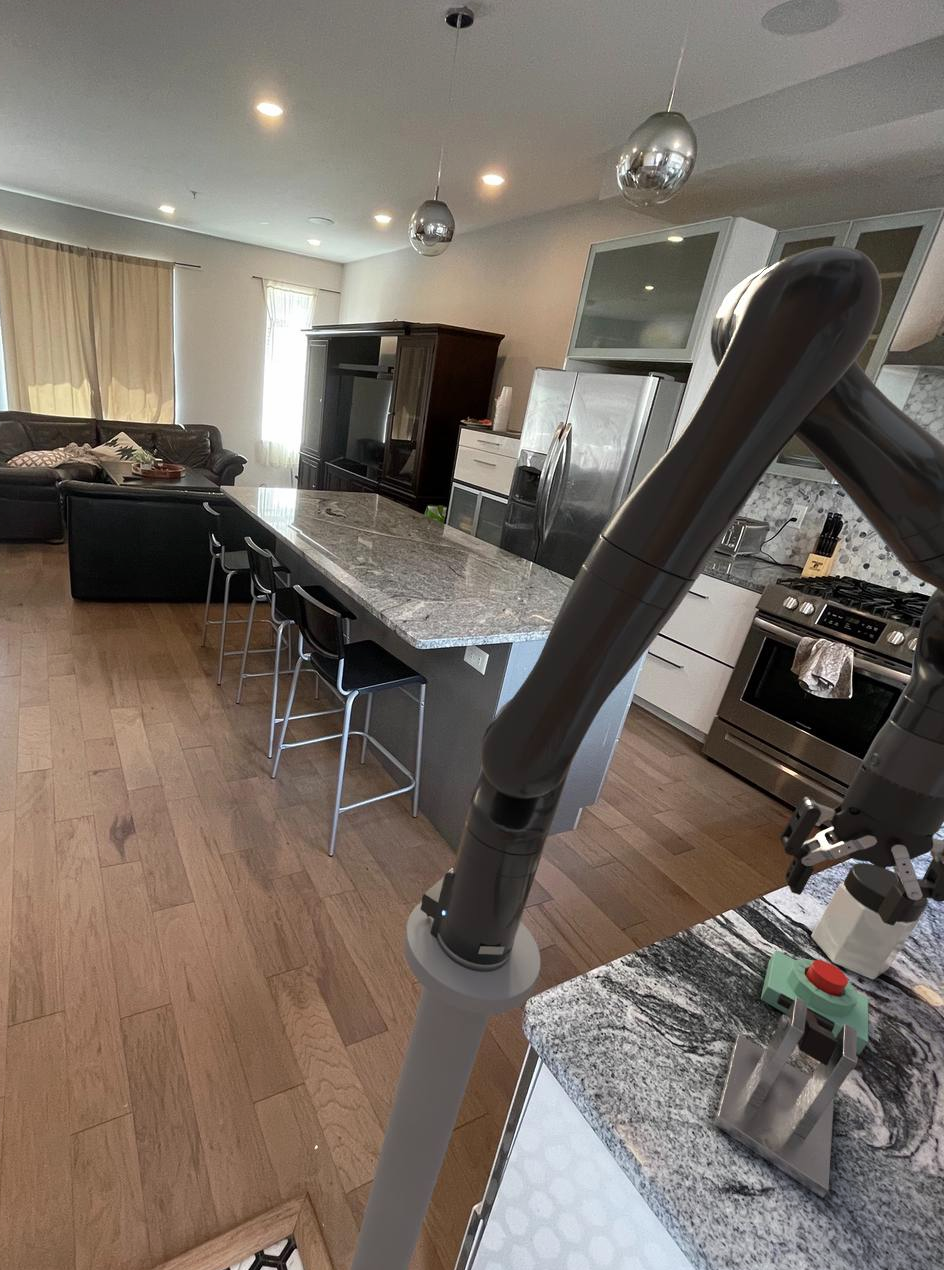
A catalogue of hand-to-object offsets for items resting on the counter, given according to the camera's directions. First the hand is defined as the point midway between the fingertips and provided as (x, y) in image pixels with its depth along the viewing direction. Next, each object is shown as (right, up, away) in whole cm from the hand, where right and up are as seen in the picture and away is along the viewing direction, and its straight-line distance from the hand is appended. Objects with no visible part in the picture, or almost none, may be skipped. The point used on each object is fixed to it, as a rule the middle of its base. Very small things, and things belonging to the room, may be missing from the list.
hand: (838, 903), depth 66 cm
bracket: (-10, -19, -4) cm, 22 cm away
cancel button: (+4, -12, +8) cm, 15 cm away
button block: (+4, -16, +9) cm, 19 cm away
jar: (+15, -14, +19) cm, 28 cm away
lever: (-6, -12, -4) cm, 14 cm away
